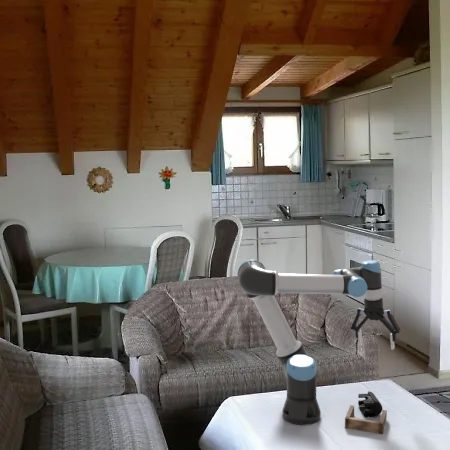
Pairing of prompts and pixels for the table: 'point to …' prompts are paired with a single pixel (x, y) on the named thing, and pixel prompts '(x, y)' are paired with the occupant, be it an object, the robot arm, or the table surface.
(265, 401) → the table surface
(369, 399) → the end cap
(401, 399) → the table surface
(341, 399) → the table surface
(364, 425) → the corral
